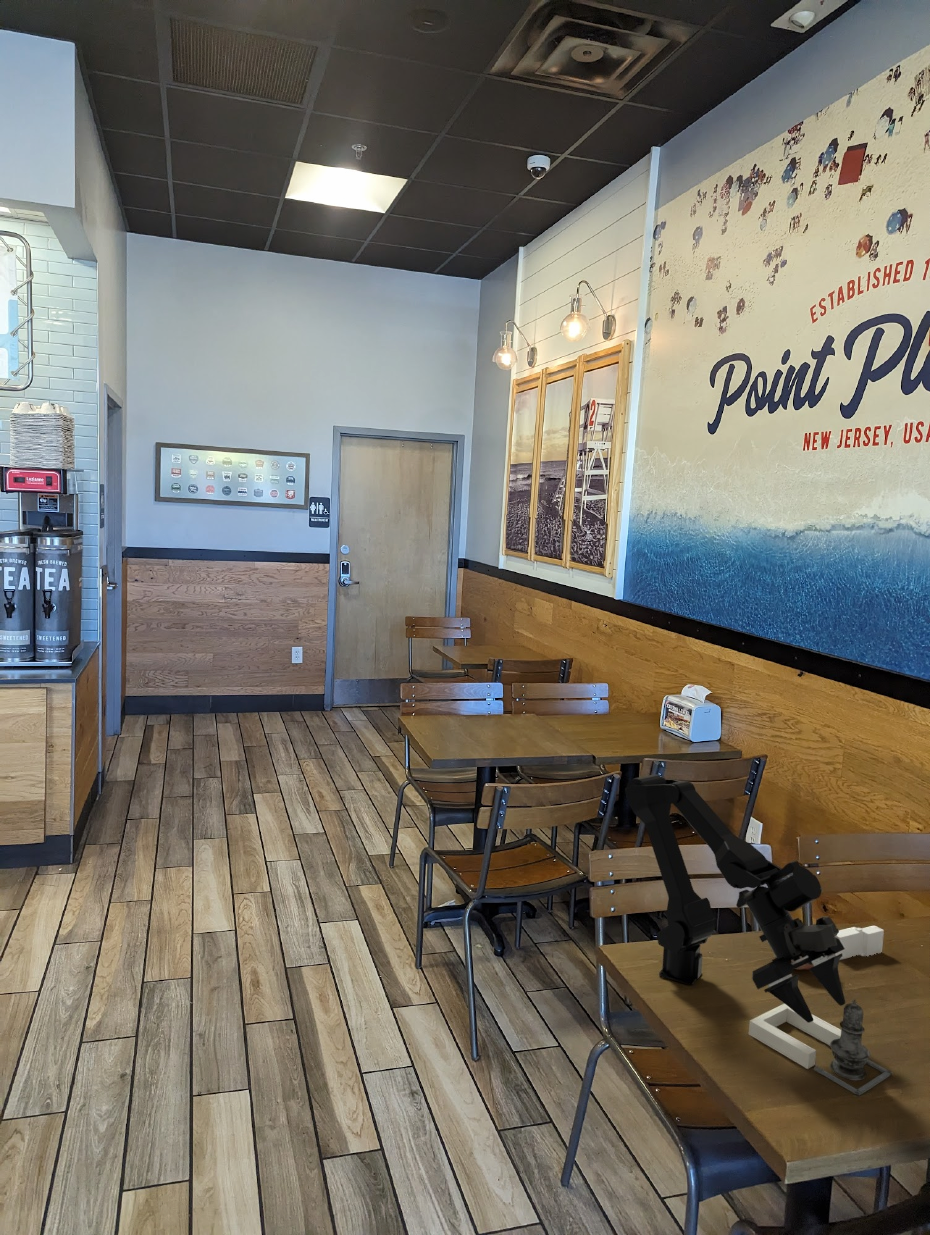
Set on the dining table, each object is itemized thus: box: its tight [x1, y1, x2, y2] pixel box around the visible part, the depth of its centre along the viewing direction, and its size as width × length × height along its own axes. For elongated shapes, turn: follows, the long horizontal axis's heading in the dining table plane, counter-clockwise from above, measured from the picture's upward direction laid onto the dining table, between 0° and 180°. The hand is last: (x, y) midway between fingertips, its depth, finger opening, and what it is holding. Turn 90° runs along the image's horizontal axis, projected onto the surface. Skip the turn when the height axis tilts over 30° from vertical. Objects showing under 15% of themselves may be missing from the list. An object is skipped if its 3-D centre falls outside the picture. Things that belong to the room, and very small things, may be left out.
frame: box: [813, 1059, 893, 1097], centre depth 139 cm, size 8×10×1 cm
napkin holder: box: [835, 925, 885, 961], centre depth 178 cm, size 15×11×6 cm
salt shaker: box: [829, 999, 871, 1081], centre depth 139 cm, size 6×6×12 cm
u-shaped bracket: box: [748, 1003, 841, 1070], centre depth 147 cm, size 11×11×2 cm
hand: (827, 1013), depth 142 cm, fingers open, 9 cm apart
